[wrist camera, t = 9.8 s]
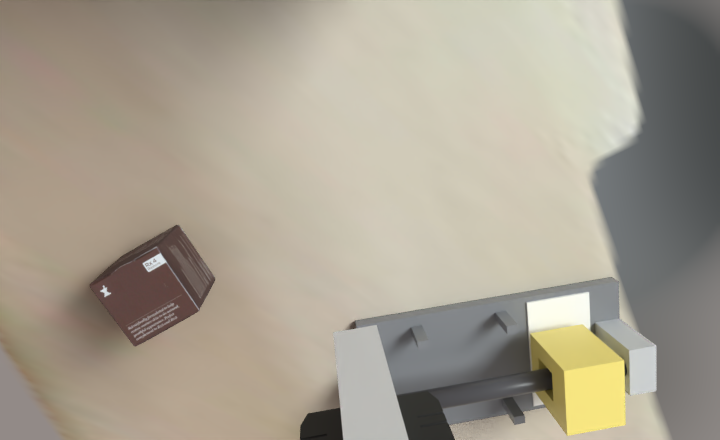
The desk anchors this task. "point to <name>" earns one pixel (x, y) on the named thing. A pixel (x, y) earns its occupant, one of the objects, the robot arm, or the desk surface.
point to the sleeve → (580, 379)
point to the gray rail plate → (503, 348)
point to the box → (155, 285)
